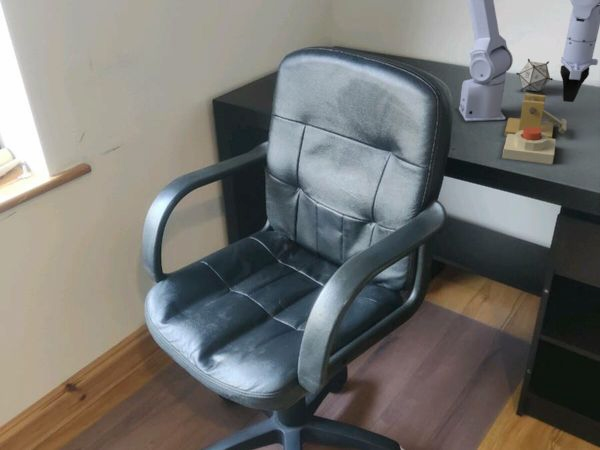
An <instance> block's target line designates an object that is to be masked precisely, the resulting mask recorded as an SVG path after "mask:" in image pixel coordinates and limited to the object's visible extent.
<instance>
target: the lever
mask: <svg viewBox="0 0 600 450" xmlns="http://www.w3.org/2000/svg"><path fill="white" fill-rule="evenodd" d="M530 101H538V100H536V99H535V98H533V97H531V98H530ZM542 118H545V119H546V120H548V122H552V123H554V125H555V126H557V127H558V132H559V133H560V134H561V135H564V133H566V131H567V126H568V125H567V124H568V121H567V120H566V119H565V118H561V120H560V119H558V118H557V117H556V116H554V115H553V114H551V113H550V112H548V111H547V110H545V109H543V114H542Z"/></svg>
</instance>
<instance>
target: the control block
mask: <svg viewBox="0 0 600 450" xmlns="http://www.w3.org/2000/svg"><path fill="white" fill-rule="evenodd" d="M522 135H523V130H521V131H519V132H517V133H516V134H515V135H514V134H507V136H506V138H505V142H504V146H503V150H502V156H501V157H502V159H506V160H507V159H508V160H516V161H523V162H532V163H539V164H547V165H553V164H554V159H555V153H556V152H555V151H556V142H557V139H556V138H552V139H549V138H548V136H547V135H546V134H545V133H542V132H541V137H540V140H535V141H532V140H526V139H524V138H522Z"/></svg>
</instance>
